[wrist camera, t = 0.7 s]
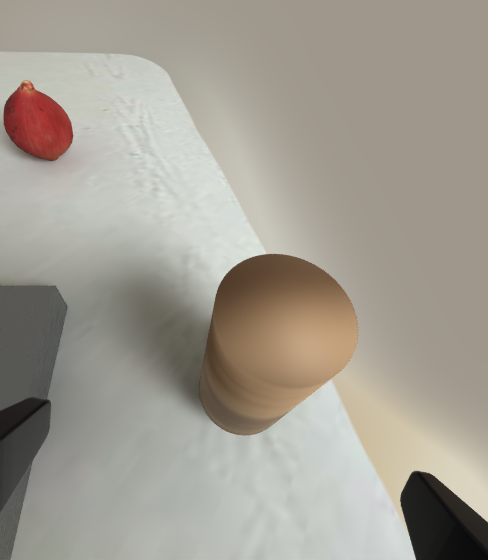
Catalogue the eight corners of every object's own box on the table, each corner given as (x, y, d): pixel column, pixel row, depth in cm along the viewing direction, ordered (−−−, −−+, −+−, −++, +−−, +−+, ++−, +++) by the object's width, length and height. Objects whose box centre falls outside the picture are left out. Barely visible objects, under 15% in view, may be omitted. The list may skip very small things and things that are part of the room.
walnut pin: (283, 436, 22) (380, 379, 12) (199, 446, 21) (220, 391, 10) (269, 355, 25) (334, 254, 15) (195, 359, 24) (209, 252, 14)
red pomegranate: (22, 178, 32) (-18, 96, 25) (20, 145, 35) (-15, 65, 28) (83, 172, 34) (61, 96, 27) (77, 142, 37) (56, 66, 30)
